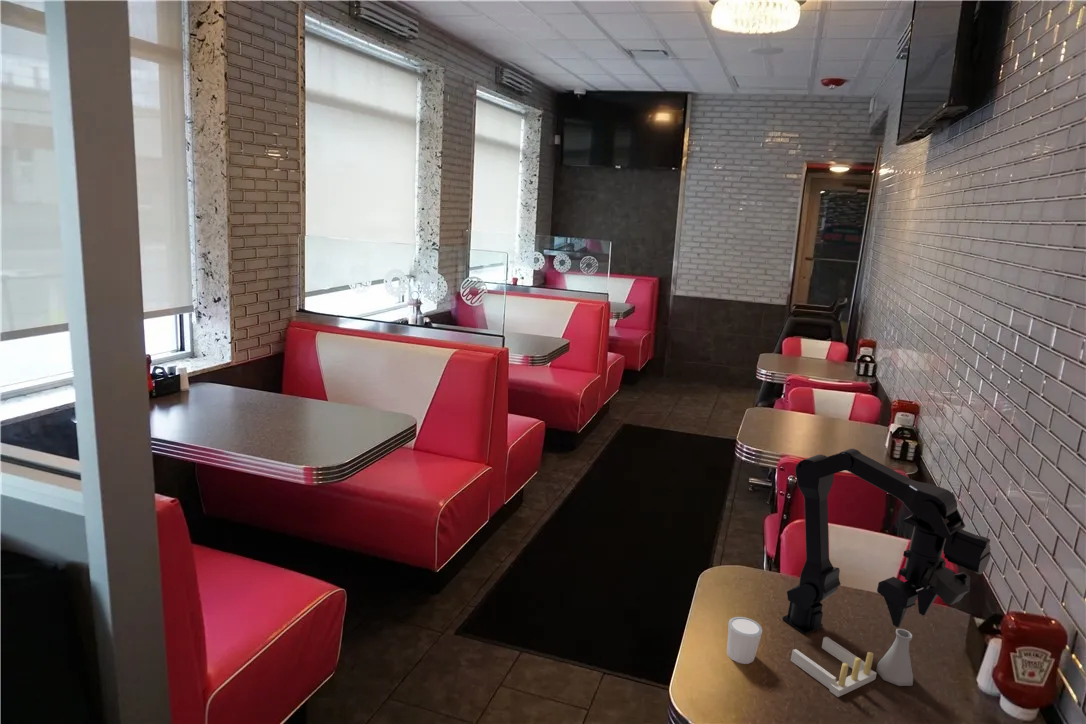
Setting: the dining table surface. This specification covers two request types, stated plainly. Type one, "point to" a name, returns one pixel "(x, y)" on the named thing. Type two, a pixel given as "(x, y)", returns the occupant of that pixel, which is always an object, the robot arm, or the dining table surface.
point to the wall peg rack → (845, 684)
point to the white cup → (743, 639)
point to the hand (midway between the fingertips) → (909, 620)
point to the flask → (897, 661)
